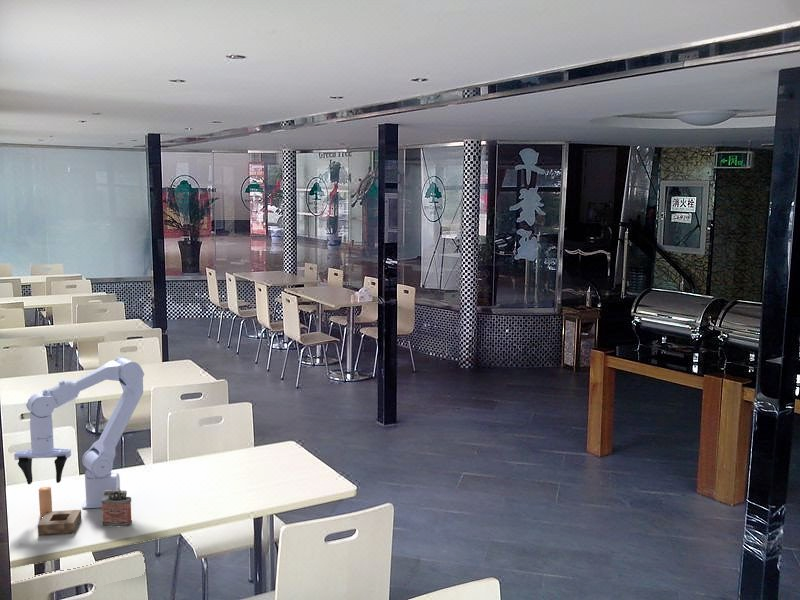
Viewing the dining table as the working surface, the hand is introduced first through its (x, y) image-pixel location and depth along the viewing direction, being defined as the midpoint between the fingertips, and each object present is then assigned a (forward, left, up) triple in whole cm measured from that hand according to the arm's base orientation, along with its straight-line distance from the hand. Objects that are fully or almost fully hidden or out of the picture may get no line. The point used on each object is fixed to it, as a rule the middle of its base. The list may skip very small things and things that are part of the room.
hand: (44, 482), depth 216 cm
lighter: (-21, +9, -10) cm, 25 cm away
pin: (0, 0, -10) cm, 10 cm away
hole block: (-6, +9, -10) cm, 15 cm away
